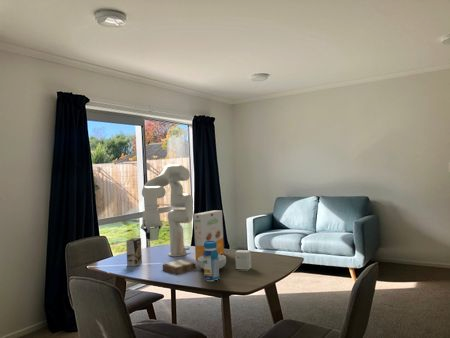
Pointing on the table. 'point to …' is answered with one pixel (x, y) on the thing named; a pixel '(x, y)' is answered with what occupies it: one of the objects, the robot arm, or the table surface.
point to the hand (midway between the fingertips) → (152, 237)
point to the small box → (243, 259)
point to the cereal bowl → (221, 261)
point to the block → (153, 234)
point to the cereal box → (208, 231)
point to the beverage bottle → (211, 261)
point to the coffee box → (134, 252)
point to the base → (179, 266)
